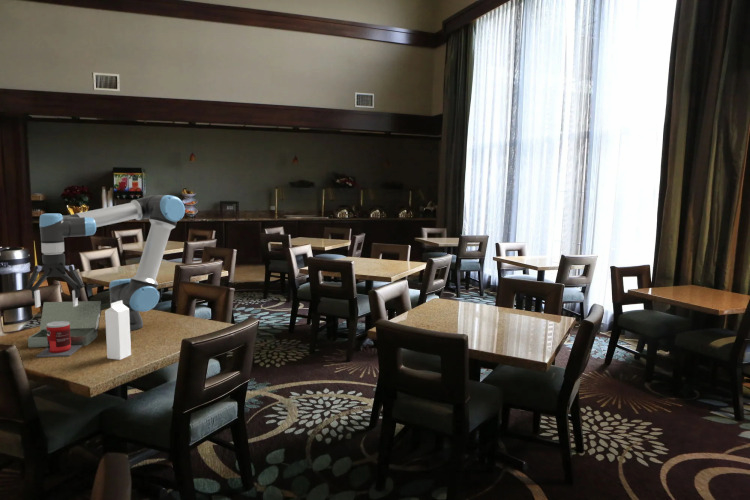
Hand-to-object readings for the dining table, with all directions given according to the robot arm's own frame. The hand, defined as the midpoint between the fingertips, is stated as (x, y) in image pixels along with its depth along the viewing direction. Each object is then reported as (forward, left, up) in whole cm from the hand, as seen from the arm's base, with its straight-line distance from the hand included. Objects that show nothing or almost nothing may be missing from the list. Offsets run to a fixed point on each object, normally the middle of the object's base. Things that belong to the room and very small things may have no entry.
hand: (57, 306), depth 199 cm
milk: (-25, +9, -19) cm, 33 cm away
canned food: (0, 0, -18) cm, 18 cm away
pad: (0, 0, -19) cm, 19 cm away
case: (+3, -16, -18) cm, 24 cm away
